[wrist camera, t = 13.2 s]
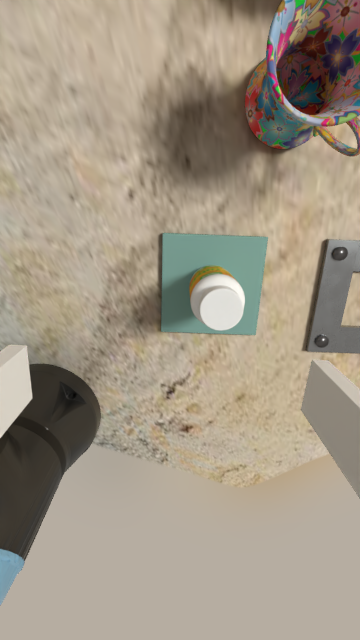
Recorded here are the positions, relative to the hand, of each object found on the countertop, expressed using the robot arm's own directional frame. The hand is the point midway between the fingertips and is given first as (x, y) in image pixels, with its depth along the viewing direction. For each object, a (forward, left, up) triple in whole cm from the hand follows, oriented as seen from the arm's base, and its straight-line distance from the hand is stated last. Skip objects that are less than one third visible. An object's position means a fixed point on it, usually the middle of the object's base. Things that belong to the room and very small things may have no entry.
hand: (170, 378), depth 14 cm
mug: (+17, -11, -24) cm, 31 cm away
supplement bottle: (0, -4, -23) cm, 23 cm away
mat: (-1, -4, -24) cm, 24 cm away
